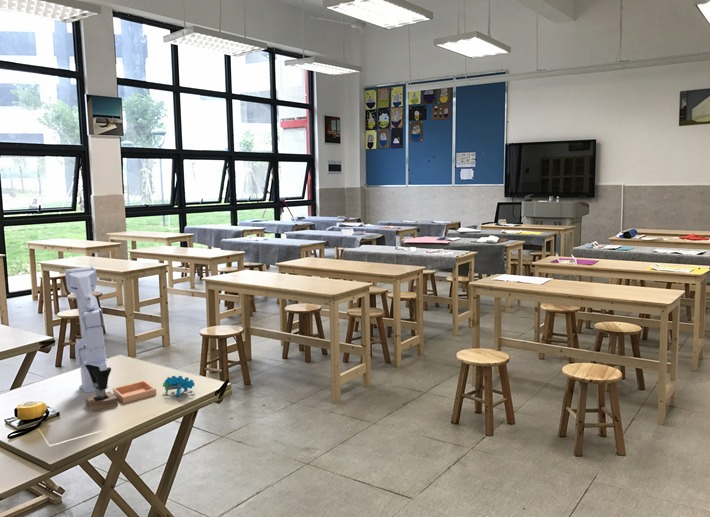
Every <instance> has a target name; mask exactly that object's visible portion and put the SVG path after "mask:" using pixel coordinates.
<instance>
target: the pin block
mask: <svg viewBox="0 0 710 517" xmlns="http://www.w3.org/2000/svg"><path fill="white" fill-rule="evenodd" d="M105 392H106V399H104V400H100V401H97V400H96V394H95V395H91V396H87V397H86V396H85V398H84V399H85V405H86V406H87V407H88V409H89V410H90V411H91V412H92V413H94V412H98V411H102V410H106V409H109V408H113V407H117V406H119V403H118V402H119V401H118V400H119V399H118V398H117V397H116V396H115V395H114V394H113V392H111V391H105Z"/></svg>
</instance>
